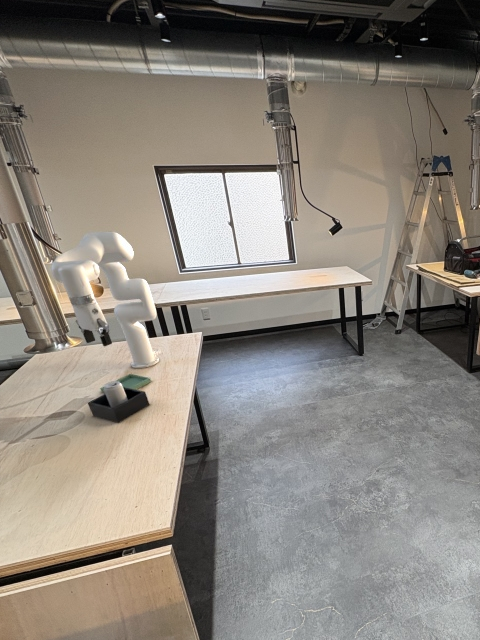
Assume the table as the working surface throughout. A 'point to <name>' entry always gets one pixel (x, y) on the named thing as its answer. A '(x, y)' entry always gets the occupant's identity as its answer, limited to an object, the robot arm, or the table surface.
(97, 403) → the open box
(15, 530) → the table surface
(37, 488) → the table surface
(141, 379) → the tray
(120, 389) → the beverage can
